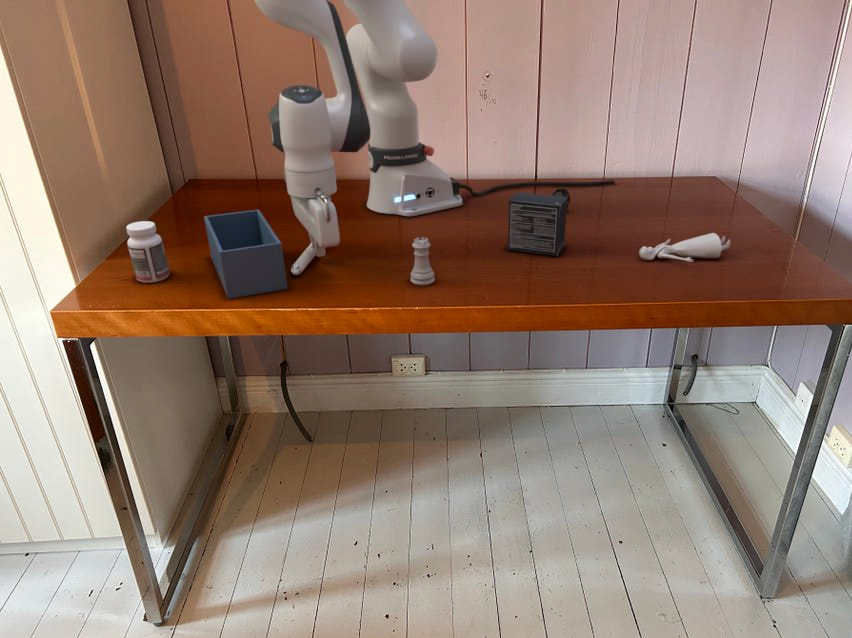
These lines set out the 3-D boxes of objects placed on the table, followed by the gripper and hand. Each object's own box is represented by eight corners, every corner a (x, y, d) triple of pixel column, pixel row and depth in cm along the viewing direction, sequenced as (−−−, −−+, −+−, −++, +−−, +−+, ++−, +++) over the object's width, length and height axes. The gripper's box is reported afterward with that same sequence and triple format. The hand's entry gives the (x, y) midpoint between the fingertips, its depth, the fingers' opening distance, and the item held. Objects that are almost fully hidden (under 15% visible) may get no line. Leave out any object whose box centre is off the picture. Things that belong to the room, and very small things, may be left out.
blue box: (265, 250, 143) (259, 209, 139) (287, 288, 128) (281, 243, 123) (211, 258, 140) (203, 216, 135) (228, 298, 124) (219, 252, 120)
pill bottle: (166, 269, 135) (154, 217, 130) (173, 279, 131) (161, 227, 126) (133, 275, 132) (120, 223, 127) (139, 286, 128) (126, 232, 123)
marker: (299, 279, 132) (297, 267, 131) (288, 278, 132) (286, 266, 131) (326, 244, 147) (325, 233, 146) (316, 243, 147) (315, 232, 146)
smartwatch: (568, 207, 169) (569, 186, 167) (569, 214, 165) (571, 192, 162) (550, 206, 169) (551, 185, 167) (551, 213, 165) (553, 192, 162)
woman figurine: (742, 243, 136) (650, 254, 134) (739, 264, 139) (649, 276, 137) (715, 222, 146) (629, 232, 144) (712, 243, 148) (628, 253, 147)
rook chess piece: (414, 288, 128) (413, 245, 124) (406, 278, 132) (405, 237, 128) (438, 284, 130) (437, 242, 126) (429, 275, 133) (428, 233, 129)
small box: (565, 246, 147) (569, 195, 142) (557, 257, 142) (561, 205, 136) (515, 239, 150) (517, 190, 145) (506, 250, 145) (507, 199, 139)
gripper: (344, 195, 124) (351, 270, 131) (314, 167, 140) (321, 235, 147) (308, 200, 122) (317, 276, 128) (281, 170, 138) (290, 239, 144)
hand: (319, 254), depth 138 cm, fingers closed
